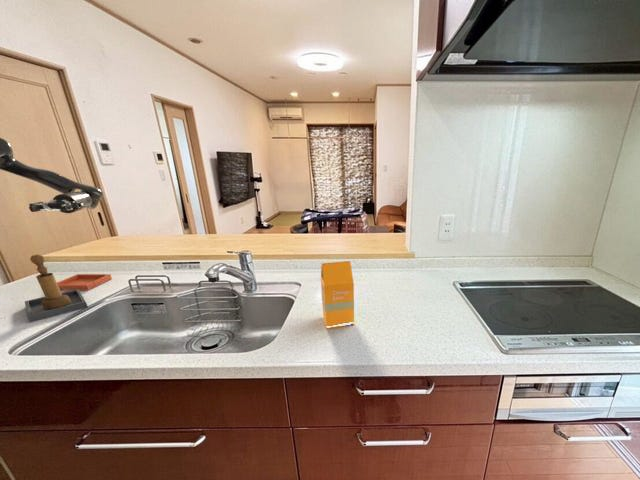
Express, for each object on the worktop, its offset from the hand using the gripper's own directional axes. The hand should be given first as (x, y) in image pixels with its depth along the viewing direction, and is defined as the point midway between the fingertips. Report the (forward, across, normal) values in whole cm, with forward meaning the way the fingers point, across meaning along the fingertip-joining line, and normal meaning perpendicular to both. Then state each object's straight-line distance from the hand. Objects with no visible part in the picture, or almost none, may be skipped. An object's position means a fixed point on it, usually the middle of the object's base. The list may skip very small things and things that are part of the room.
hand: (46, 208), depth 108 cm
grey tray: (+22, +4, +30) cm, 37 cm away
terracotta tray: (+1, +2, +30) cm, 30 cm away
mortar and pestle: (+22, +4, +30) cm, 37 cm away
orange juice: (+62, +93, +30) cm, 116 cm away
